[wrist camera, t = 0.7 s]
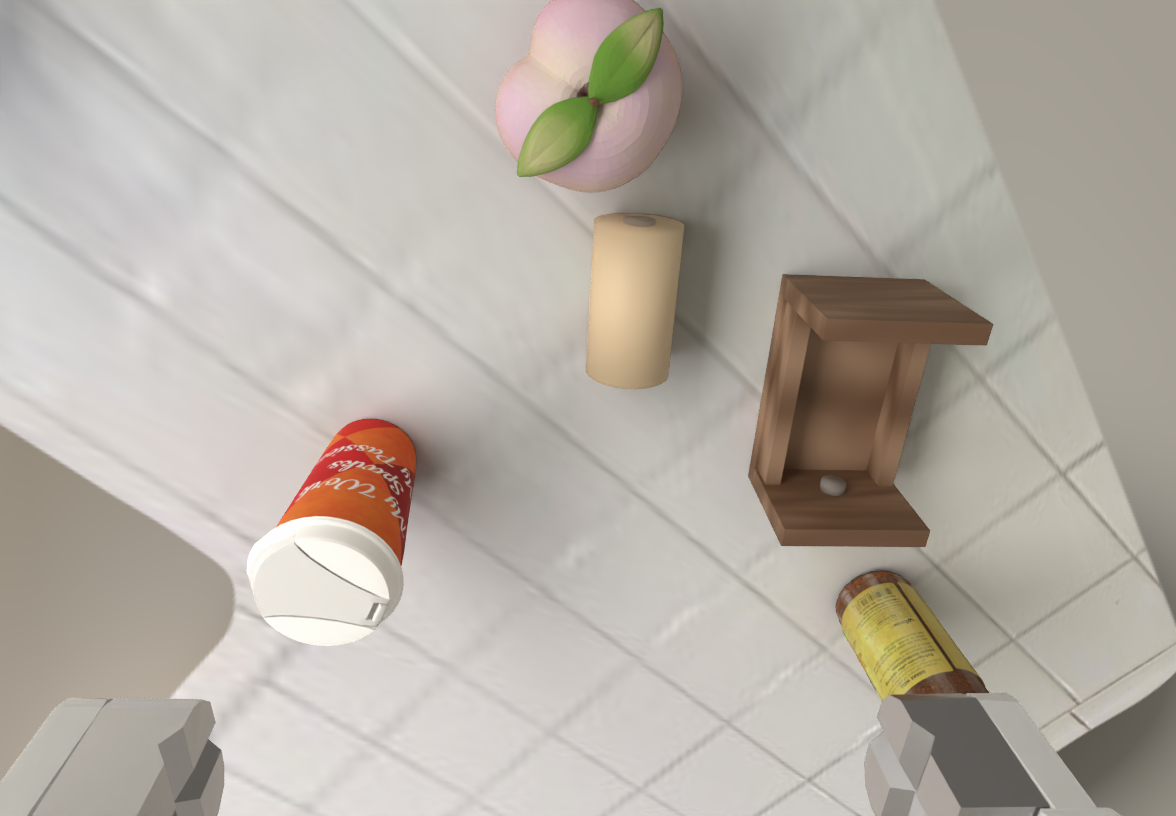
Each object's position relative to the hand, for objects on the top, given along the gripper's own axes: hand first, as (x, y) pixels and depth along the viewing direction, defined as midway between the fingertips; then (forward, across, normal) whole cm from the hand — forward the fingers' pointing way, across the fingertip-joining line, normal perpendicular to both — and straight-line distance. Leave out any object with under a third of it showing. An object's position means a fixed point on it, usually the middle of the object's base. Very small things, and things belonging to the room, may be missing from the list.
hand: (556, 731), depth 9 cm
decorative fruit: (+38, -2, -5) cm, 39 cm away
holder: (+38, -20, +12) cm, 44 cm away
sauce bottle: (+39, -26, +30) cm, 55 cm away
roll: (+38, -6, +6) cm, 39 cm away
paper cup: (+38, +10, +18) cm, 44 cm away
